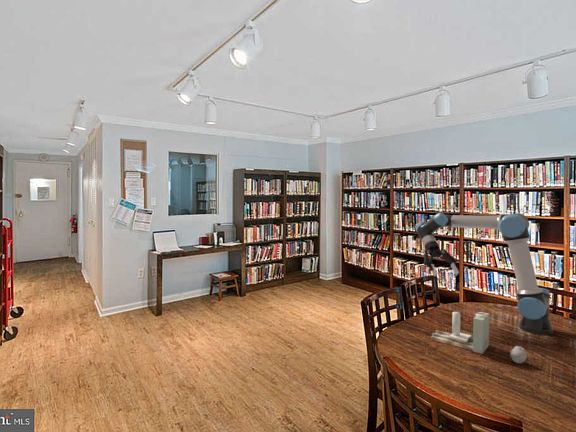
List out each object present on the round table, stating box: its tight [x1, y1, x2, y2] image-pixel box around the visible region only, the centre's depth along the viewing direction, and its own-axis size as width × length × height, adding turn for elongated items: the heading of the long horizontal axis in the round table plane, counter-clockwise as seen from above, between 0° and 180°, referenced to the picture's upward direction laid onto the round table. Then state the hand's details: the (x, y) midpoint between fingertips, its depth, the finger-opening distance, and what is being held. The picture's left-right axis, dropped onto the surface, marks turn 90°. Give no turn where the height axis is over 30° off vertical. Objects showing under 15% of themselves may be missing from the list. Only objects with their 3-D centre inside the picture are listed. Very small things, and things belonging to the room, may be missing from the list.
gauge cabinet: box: [472, 311, 490, 354], centre depth 166 cm, size 5×12×17 cm, turn 137°
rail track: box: [430, 329, 473, 351], centre depth 174 cm, size 20×10×2 cm, turn 47°
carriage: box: [449, 311, 473, 342], centre depth 171 cm, size 11×8×12 cm
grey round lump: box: [509, 345, 528, 365], centre depth 152 cm, size 6×7×7 cm
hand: (446, 274), depth 193 cm, fingers open, 13 cm apart
